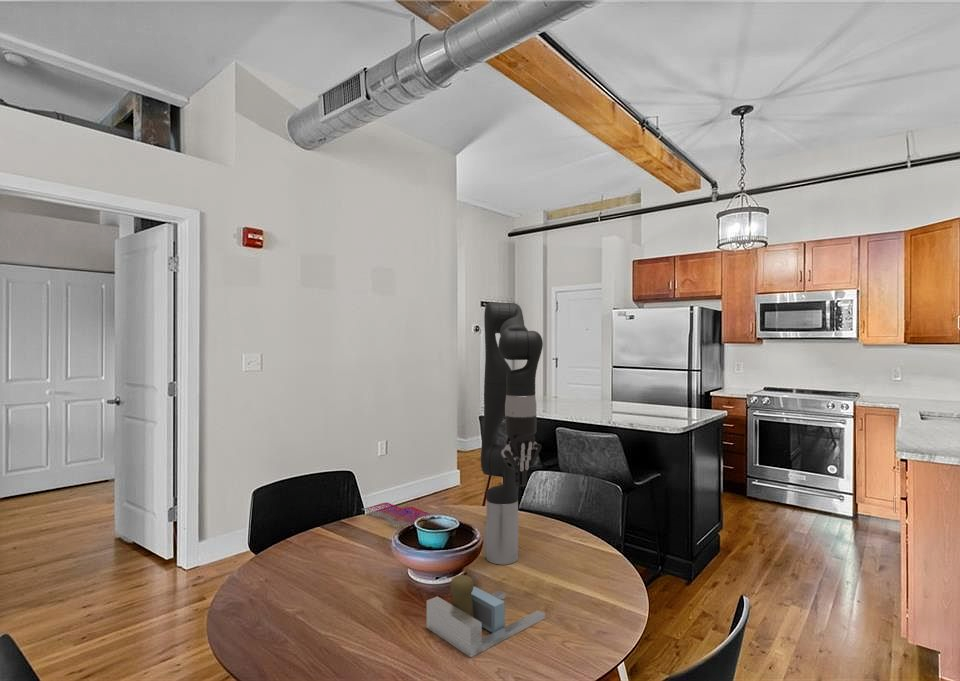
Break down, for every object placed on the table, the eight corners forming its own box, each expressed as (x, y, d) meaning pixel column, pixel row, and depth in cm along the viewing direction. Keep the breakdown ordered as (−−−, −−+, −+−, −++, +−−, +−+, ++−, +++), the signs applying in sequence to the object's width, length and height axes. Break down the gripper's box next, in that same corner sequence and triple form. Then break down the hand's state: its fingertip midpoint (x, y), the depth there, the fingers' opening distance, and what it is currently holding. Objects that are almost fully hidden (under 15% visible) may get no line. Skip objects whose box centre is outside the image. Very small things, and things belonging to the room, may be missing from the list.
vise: (426, 627, 117) (426, 600, 117) (499, 595, 132) (499, 571, 132) (470, 657, 106) (470, 627, 106) (544, 618, 121) (544, 592, 121)
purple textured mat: (359, 515, 194) (359, 501, 194) (394, 506, 205) (394, 493, 205) (406, 537, 173) (406, 521, 173) (442, 526, 183) (442, 511, 183)
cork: (475, 634, 114) (475, 583, 114) (448, 634, 114) (448, 584, 114) (475, 619, 120) (475, 571, 120) (448, 620, 120) (448, 571, 120)
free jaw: (464, 616, 121) (464, 590, 121) (474, 612, 123) (474, 586, 123) (494, 634, 114) (494, 606, 114) (504, 629, 116) (504, 602, 116)
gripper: (512, 418, 119) (512, 494, 119) (550, 412, 128) (550, 483, 128) (489, 414, 125) (490, 487, 125) (528, 409, 134) (528, 477, 134)
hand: (520, 485), depth 126 cm, fingers closed
